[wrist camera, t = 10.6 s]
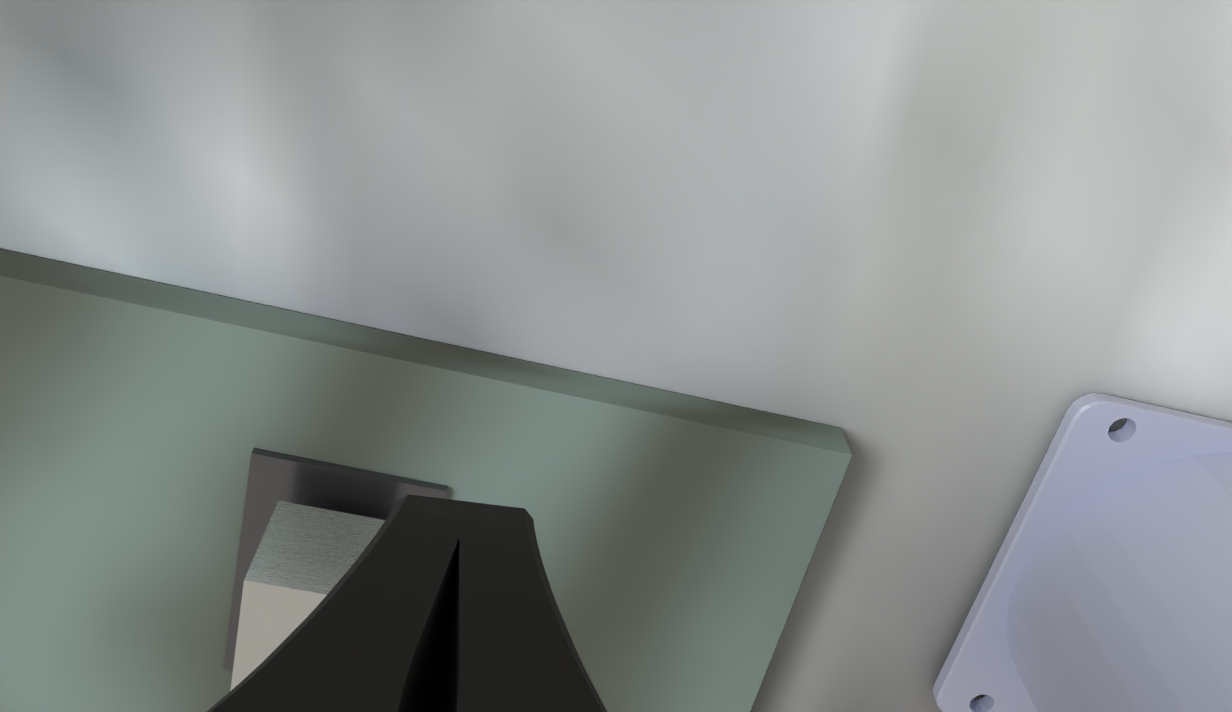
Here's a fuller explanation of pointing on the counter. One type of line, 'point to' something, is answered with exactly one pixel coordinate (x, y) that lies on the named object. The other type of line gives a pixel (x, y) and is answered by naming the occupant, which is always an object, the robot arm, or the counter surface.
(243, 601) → the lock bar
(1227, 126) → the counter surface
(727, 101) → the counter surface
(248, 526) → the plates
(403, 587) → the robot arm
